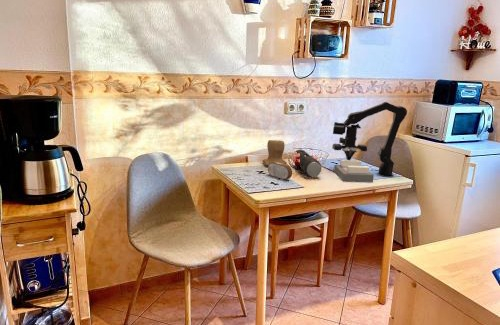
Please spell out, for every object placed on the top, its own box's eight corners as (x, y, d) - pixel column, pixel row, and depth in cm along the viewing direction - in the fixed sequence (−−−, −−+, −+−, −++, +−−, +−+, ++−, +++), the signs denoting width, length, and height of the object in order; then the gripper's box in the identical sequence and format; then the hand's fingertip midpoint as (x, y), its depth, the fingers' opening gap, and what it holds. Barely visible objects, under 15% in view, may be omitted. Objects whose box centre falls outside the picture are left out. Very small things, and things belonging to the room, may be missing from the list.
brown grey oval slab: (292, 180, 196) (293, 165, 194) (288, 181, 194) (289, 166, 192) (270, 174, 206) (270, 159, 204) (266, 175, 204) (267, 160, 202)
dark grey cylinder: (306, 165, 228) (308, 149, 225) (321, 179, 201) (323, 160, 198) (291, 165, 226) (292, 148, 224) (304, 179, 200) (306, 160, 197)
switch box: (360, 172, 218) (361, 165, 217) (372, 182, 200) (373, 174, 199) (333, 171, 217) (334, 164, 216) (343, 181, 199) (344, 173, 198)
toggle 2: (366, 171, 203) (367, 166, 202) (368, 173, 200) (369, 167, 199) (346, 171, 202) (347, 165, 201) (348, 172, 199) (348, 167, 198)
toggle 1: (359, 165, 215) (359, 160, 214) (360, 167, 212) (361, 161, 211) (340, 165, 214) (340, 159, 213) (341, 166, 211) (342, 161, 210)
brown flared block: (279, 161, 235) (281, 137, 232) (289, 165, 225) (290, 141, 221) (257, 162, 229) (259, 138, 225) (266, 167, 219) (268, 142, 215)
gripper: (362, 133, 222) (359, 159, 226) (331, 132, 221) (328, 158, 225) (369, 137, 211) (365, 163, 215) (336, 135, 210) (333, 162, 214)
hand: (348, 161), depth 217 cm, fingers closed
